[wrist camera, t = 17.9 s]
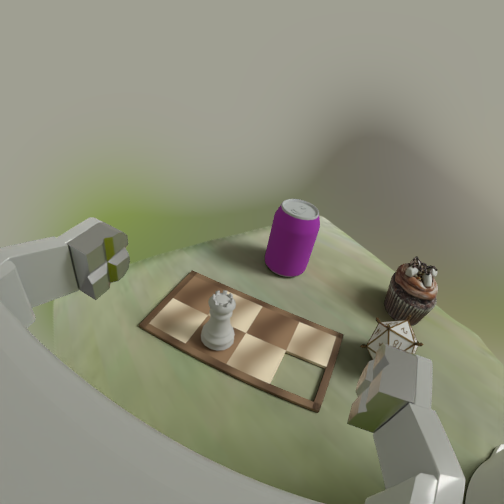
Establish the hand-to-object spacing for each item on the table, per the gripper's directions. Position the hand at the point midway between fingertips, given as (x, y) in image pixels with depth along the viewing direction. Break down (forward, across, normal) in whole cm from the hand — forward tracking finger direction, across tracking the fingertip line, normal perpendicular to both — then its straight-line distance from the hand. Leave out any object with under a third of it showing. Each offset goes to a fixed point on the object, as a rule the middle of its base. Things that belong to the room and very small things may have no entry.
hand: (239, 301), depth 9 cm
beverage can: (+39, +5, +28) cm, 49 cm away
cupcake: (+40, -18, +28) cm, 52 cm away
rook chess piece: (+18, +8, +28) cm, 34 cm away
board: (+21, +5, +28) cm, 35 cm away
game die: (+26, -15, +28) cm, 41 cm away
